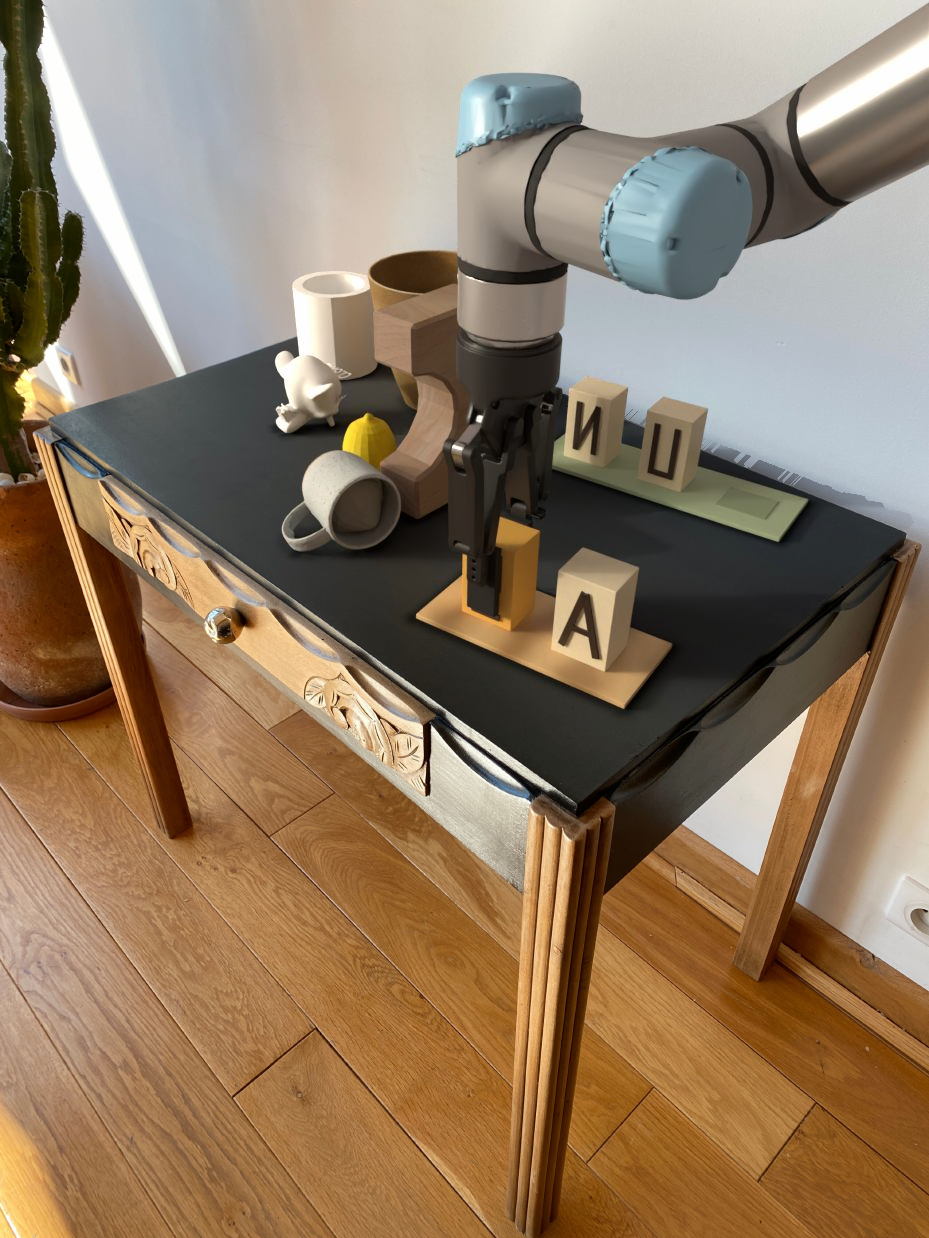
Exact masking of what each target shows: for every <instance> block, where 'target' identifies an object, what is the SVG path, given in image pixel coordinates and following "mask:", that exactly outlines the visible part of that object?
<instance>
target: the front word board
mask: <svg viewBox="0 0 929 1238" xmlns="http://www.w3.org/2000/svg"><path fill="white" fill-rule="evenodd" d="M555 604H556V596H552V595H549V594H547V593H544V592H542V591H540V590H537V589H536V593H535V607H534V609H533V610H532V611H531V612H530V613H529V614H528V615H527V616H526V617H525V618H524V619H523V620H522V621H521V622H520V623H519V624H518V625H517V626H516V627H515V628H514V629H513V630H512V631H508V630H506V629H504V628H501V627H499V626H496V625H494V624H492V623H489V622H487V621H484V620H482V619H480V618H477V617H475V616H473V615H470V614H468V613H465V612H463V611H462V575H460V576H459V577H458V578H457V579H456V580H454V582H452V583H451V584H450V585H449V586H447V587H446V588H445V589H444V590H443V591H441V592H440V593H439V594H438V595H437V596H435V597H434V598H433V599H432V600H431V601H429V602H428V603H427V604H426V605H425V606H424V607H422V608H421V609H420V610H419V611H418V612H416V615H415V618H416V619H417V620H419V621H421V622H424V623H426V624H428V625H431V626H433V627H435V628H438V629H439V630H442V631H444V632H447V633H448V634H451V635H454V636H456V637H458V638H460V639H462V640H465V641H467V642H469V643H471V644H473V645H477V646H478V647H481V648H483V649H486V650H488V651H490V652H492V653H495V654H497V655H499V656H501V657H503V658H506V659H509V660H511V661H513V662H515V663H518V664H520V665H522V666H524V667H527V668H529V669H531V670H534V671H535V672H538V673H541V674H543V675H545V676H547V677H549V678H552V679H554V680H557V681H559V682H561V683H563V684H565V685H568V686H570V687H572V688H575V689H577V690H579V691H582V692H584V693H587V694H589V695H591V696H593V697H596V698H598V699H600V700H601V701H605V702H607V703H609V704H612V705H614V706H616V707H618V708H621V709H623V710H625V709H627V707H628V705H630V703H631V701H632V700H633V699H634V698H635V696H636V695H637V693H638V692H639V690H641V689H642V687H643V686H644V684H646V682H647V680H648V679H649V678H650V677H651V675H652V674H653V673H654V672H655V670H656V669H657V668H658V666H660V664H661V663H662V662H663V660H664V659H665V658H666V657H667V655H668V654H669V653H670V651H671V650H672V648H673V643H672V642H669V641H667V640H664V639H662V638H658V637H657V636H653V635H651V634H648V633H646V632H644V631H641V630H638V629H637V628H633V627H631V626H630V629H629V635H628V642H627V646H626V648H625V649H624V650H623V651H622V652H621V654H620V655H619V656H618V657H617V658H616V660H615V661H614V662H613V663H612V664H611V665H610V667H609V668H608V669H607V670H606V671H605V672H604V671H601V670H599V669H597V668H594V667H592V666H590V665H587V664H585V663H582V662H580V661H578V660H575V659H573V658H571V657H568V656H566V655H563V654H561V653H559V652H556V651H554V650H552V649H551V647H552V636H553V626H554V615H555Z"/></svg>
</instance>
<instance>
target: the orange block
mask: <svg viewBox="0 0 929 1238" xmlns="http://www.w3.org/2000/svg"><path fill="white" fill-rule="evenodd" d="M540 537H541V530H539V529H535V528H534V527H532V528H530V527H527V526H525V525H522V524H519V523H516V522H514V521H511V520H508V519H505V518H502V517H500V520H499V526H498V532H497V539H496V545H495V546H496V547H499V548H501V568H500V591H499V613H498V614H497V615H496V616H495V617H491V616H489V615H487V614H484V613H482V612H479V611H477V610H474V609H472V608H470V607H467V578H466V575H467V555H464V554H462V568H461V569H462V570H461V571H462V572H461V573H462V575H461V576H462V611H463V612H465V613H468V614H470V615H473V616H475V617H477V618H480V619H482V620H484V621H487V622H489V623H492V624H494V625H496V626H499V627H501V628H504V629H506V630H508V631H512V630H513V629H514V628H515V627H516V626H517V625H518V624H519V623H520V622H521V621H522V620H523V619H524V618H525V617H526V616H527V615H528V614H529V613H530V612H531V611H532V610H533V609H534V607H535V593H536V590H537V579H538V565H539V553H540V552H539V551H540V539H541V538H540Z"/></svg>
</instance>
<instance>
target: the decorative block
mask: <svg viewBox="0 0 929 1238" xmlns="http://www.w3.org/2000/svg"><path fill="white" fill-rule="evenodd" d="M457 300H458V285H457V284H451V285H448V286H445V287H442V288H439V289H436V290H433V291H431V292H428V293H425V294H422V295H419V296H416V297H413V298H410V299H407V300H405V301H402V302H399V303H396V304H393V305H390V306H387V307H384V308H381V309H378V310H376V311H375V312H374V313H373V324H374V348H375V360H376V361H377V363H378V364H381V365H383V366H386V367H388V368H393V369H396V370H398V371H401V372H403V373H406V374H408V375H411V376H413V377H414V378H415V379H416V380H417V387H418V393H419V399H418V408H417V410H416V414H415V416H414V419H413V421H412V424H411V426H410V428H409V430H408V433H407V434H406V436H405V437H404V438H403V440H402V441H401V443H400V444H399V445H398V447H397V448H396V451H395V452H393V453H392V454H391V455H389V456H388V457H386V458H385V459H384V460H382V461H381V462H380V472H381V473H382V474H384V475H385V476H386V477H388V478H389V479H390V480H392V481H393V483H394V484H395V485H396V487H397V489H398V491H399V494H400V497H401V512H402V513H404V514H406V515H407V516H410V517H412V518H414V519H415V520H420V519H421V518H423V517H425V516H427V515H428V514H431V513H432V512H434V511H436V510H438V509H440V508H441V507H443V506H444V505H446V504H447V505H448V467H447V464H446V461H445V458H444V454H443V450H442V448H443V444H444V442H445V440H446V439H447V438H451V439H454V440H458V439H459V438H460V437H461V436H462V434H463V433H464V432H465V430H466V429H467V427H466V416H467V412H468V408H469V403H470V397H469V395H468V393H467V392H466V390H465V389H464V388H463V387H462V385H461V384H460V383H459V381H458V379H457V376H456V336H457V333H458V331H459V330H460V329H461V327H460V326H459V324H458V321H457Z"/></svg>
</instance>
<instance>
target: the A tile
mask: <svg viewBox="0 0 929 1238" xmlns="http://www.w3.org/2000/svg"><path fill="white" fill-rule="evenodd" d="M639 571H640V567H639V566H636V565H633V564H631V563H629V562H625V561H622V560H619V559H617V558H613V557H611V556H608V555H605V554H603V553H600V552H597V551H595V550H592V549H589V548H586V547H582V548H580V549H579V550H578V551H577V552H576V553H575V554H574V555H573V556H572V557H571V558H570V559H568V561H566V563H565V564H564V565H562V566H561V568H560V569H559V570H558V572H557V584H556V595H555V598H556V604H555V615H554V626H553V636H552V647H551V649H552V650H554V651H556V652H559V653H561V654H563V655H566V656H568V657H571V658H573V659H575V660H578V661H580V662H582V663H585V664H587V665H590V666H592V667H594V668H597V669H599V670H601V671H604V672H605V671H606V670H607V669H608V668H609V667H610V665H611V664H612V663H613V662H614V661H615V660H616V658H617V657H618V656H619V655H620V654H621V652H622V651H623V650H624V649H625V648H626V646H627V642H628V635H629V629H630V627H631V623H632V615H633V610H634V603H635V598H636V597H635V596H636V590H637V586H638V585H637V584H638V577H639Z"/></svg>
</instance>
